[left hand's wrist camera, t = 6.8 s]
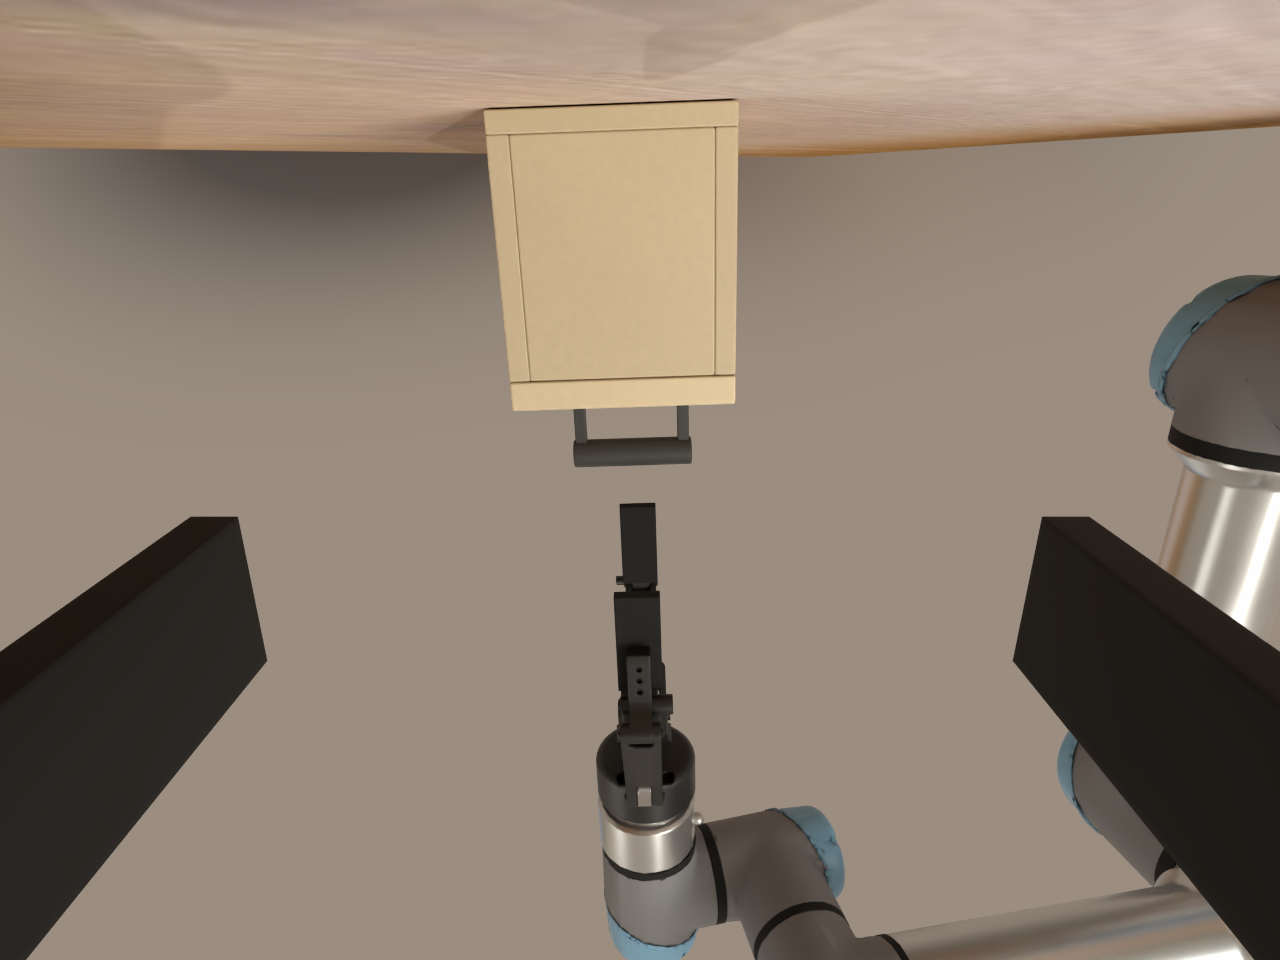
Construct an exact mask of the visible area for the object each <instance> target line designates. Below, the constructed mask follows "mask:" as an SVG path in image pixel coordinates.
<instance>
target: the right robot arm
mask: <svg viewBox="0 0 1280 960" xmlns="http://www.w3.org/2000/svg"><path fill="white" fill-rule="evenodd" d="M1149 379H1150V385H1151V387H1152V388H1153V389H1155V390H1156V392H1155V394H1156V397H1157V398H1158V399H1159V400H1160V401H1161V402H1162V403H1163V404H1164V405H1166V406H1167V407H1169V408H1170V409H1171V410H1173V411H1174V415H1173V419H1172V424H1171V428H1170V432H1169V436H1168V440H1167V443H1168V445H1169V447H1170V448H1171V449H1172V450H1173V451H1174V453H1175V454H1176V455H1177V456H1178V457H1179V459H1180V460H1181V461H1182V462H1183V469H1182V473H1181V477H1180V481H1179V485H1178V488H1177V492H1176V496H1175V500H1174V504H1173V507H1172V511H1171V515H1170V519H1169V523H1168V526H1167V530H1166V534H1165V538H1164V542H1163V546H1162V550H1161V553H1160V557H1159V561H1158V566H1159V567H1161V568H1162V569H1164V570H1165V571H1166V572H1168V573H1169V574H1171V575H1172V576H1174V577H1175V578H1176V579H1178V580H1179V581H1181V582H1182V583H1183V584H1185V585H1186V586H1188V587H1189V588H1190V589H1192V590H1193V591H1195V592H1196V593H1198V594H1199V595H1200V596H1202V597H1203V598H1205V599H1206V600H1207V601H1209V602H1210V603H1212V604H1213V605H1214V606H1216V607H1217V608H1219V609H1220V610H1222V611H1223V612H1224V613H1226V614H1227V615H1229V616H1230V617H1231V618H1233V619H1234V620H1236V621H1237V622H1238V623H1240V624H1241V625H1243V626H1244V627H1246V628H1247V629H1248V630H1250V631H1251V632H1253V633H1254V634H1255V635H1257V636H1258V637H1260V638H1261V639H1262V640H1264V641H1265V642H1267V639H1268V636H1269V633H1270V630H1271V627H1272V624H1273V621H1274V618H1275V615H1276V612H1277V609H1278V606H1279V603H1280V275H1278V276H1264V275H1246V276H1239V277H1234V278H1230V279H1227V280H1224V281H1221V282H1219V283H1216V284H1214V285H1212V286H1210V287H1208V288H1207V289H1205V290H1203V291H1202V292H1200V293H1199V294H1198V295H1197V296H1196V297H1195V298H1194V299H1193V301H1192V302H1191V303H1189V304H1186V305H1184V306H1183V307H1182V308H1181V309H1180V310H1179V311H1178V312H1177V313H1176V314H1175V315H1174V316H1173V317H1172V319H1171V320H1170V321H1169V323H1168V324H1167V325H1166V327H1165V328H1164V330H1163V332H1162V333H1161V335H1160V337H1159V339H1158V341H1157V343H1156V345H1155V347H1154V350H1153V353H1152V357H1151V361H1150V367H1149ZM620 526H621V547H622V568H623V576H616V583H617V585H624V586H625V588H626V592H614V612H615V631H616V650H617V669H618V688H619V691H621V697H620V699H619V701H618V720H619V724H618V725H617V729H616V730H615V731H613V732H612V733H611V734H609V735H608V736H607V737H606V738H605V739H604V740H603V742H602V743H601V745H600V747H599V749H598V752H597V757H596V765H597V780H598V792H599V799H598V806H599V820H600V835H601V843H602V848H603V869H604V896H605V901H606V908H607V915H608V922H609V930H610V934H611V937H612V939H613V942H614V944H615V946H616V947H617V949H618V950H619V951H620V953H621V954H622V955H623V956H624V957H625V958H627V959H628V960H679V959H680V958H682V957H683V956H684V955H685V954H686V953H688V952H689V950H690V949H691V947H692V945H693V943H694V940H695V937H696V931H697V930H698V928H703V927H708V926H713V925H717V924H722V923H726V922H729V921H739V920H740V921H741V923H742V925H743V928H744V931H745V933H746V936H747V939H748V942H749V944H750V947H751V950H752V952H753V955H754V958H755V960H1254V959H1253V958H1252V957H1251V955H1250V954H1249V953H1248V952H1247V950H1246V949H1245V948H1244V947H1243V945H1242V944H1241V943H1240V942H1239V940H1238V939H1237V938H1236V937H1235V935H1234V934H1233V933H1232V932H1231V931H1230V929H1229V928H1228V927H1227V926H1226V924H1225V923H1224V922H1223V921H1222V919H1221V918H1220V917H1219V916H1218V914H1217V913H1216V912H1215V911H1214V909H1213V908H1212V907H1211V906H1210V905H1209V903H1208V902H1207V901H1206V900H1205V898H1204V897H1203V896H1202V895H1201V893H1200V892H1199V891H1198V890H1197V888H1196V887H1195V886H1194V885H1193V883H1192V882H1191V881H1190V880H1189V878H1188V877H1187V876H1186V875H1185V874H1184V872H1183V871H1182V870H1181V869H1180V867H1179V866H1178V865H1177V864H1176V862H1175V861H1174V860H1173V859H1172V857H1171V856H1170V855H1169V854H1168V852H1167V851H1166V850H1165V849H1164V847H1163V846H1162V845H1161V844H1160V843H1159V841H1158V840H1157V839H1156V838H1155V836H1154V835H1153V834H1152V833H1151V831H1150V830H1149V829H1148V828H1147V826H1146V825H1145V824H1144V823H1143V821H1142V820H1141V819H1140V818H1139V817H1138V815H1137V814H1136V813H1135V812H1134V810H1133V809H1132V808H1131V807H1130V805H1129V804H1128V803H1127V802H1126V800H1125V799H1124V798H1123V797H1122V795H1121V794H1120V793H1119V792H1118V790H1117V789H1116V788H1115V787H1114V786H1113V784H1112V783H1111V782H1110V781H1109V779H1108V778H1107V777H1106V776H1105V774H1104V773H1103V772H1102V771H1101V769H1100V768H1099V767H1098V766H1097V764H1096V763H1095V762H1094V761H1093V760H1092V758H1091V757H1090V756H1089V755H1088V753H1087V752H1086V751H1085V750H1084V748H1083V747H1082V746H1081V745H1080V743H1079V742H1078V741H1077V740H1076V738H1075V737H1074V736H1073V735H1072V733H1071V732H1070V731H1069V732H1068V733H1067V735H1066V736H1065V738H1064V740H1063V742H1062V745H1061V748H1060V751H1059V755H1058V762H1057V771H1058V778H1059V782H1060V785H1061V787H1062V790H1063V792H1064V794H1065V795H1066V797H1067V798H1068V800H1069V801H1070V802H1071V803H1072V804H1073V805H1074V806H1075V807H1076V809H1077V810H1078V811H1079V813H1080V815H1081V816H1082V817H1083V819H1084V820H1085V821H1086V823H1087V824H1088V825H1089V826H1090V827H1091V828H1093V829H1094V830H1095V831H1096V832H1098V833H1099V834H1101V835H1103V836H1104V837H1105V838H1106V839H1107V840H1108V841H1109V842H1110V844H1111V845H1112V846H1113V847H1114V848H1115V849H1116V850H1117V851H1118V852H1119V853H1120V854H1121V855H1122V856H1123V857H1124V858H1125V859H1126V860H1127V861H1128V862H1129V863H1130V864H1131V865H1132V866H1133V867H1134V868H1135V869H1136V870H1137V871H1138V872H1139V873H1140V874H1141V875H1142V876H1143V877H1144V878H1145V879H1146V880H1147V881H1148V882H1149V884H1150V885H1151V886H1152V887H1151V888H1145V889H1139V890H1134V891H1128V892H1122V893H1117V894H1111V895H1105V896H1100V897H1094V898H1089V899H1083V900H1077V901H1072V902H1066V903H1060V904H1054V905H1049V906H1043V907H1037V908H1032V909H1026V910H1020V911H1015V912H1009V913H1003V914H998V915H992V916H986V917H981V918H975V919H969V920H964V921H958V922H952V923H947V924H941V925H935V926H930V927H924V928H918V929H913V930H907V931H901V932H896V933H890V934H881V935H876V936H870V937H864V938H856V937H855V935H854V934H853V932H852V930H851V929H850V927H849V924H848V922H847V920H846V918H845V916H844V914H843V912H842V910H841V908H840V906H839V904H838V903H837V901H836V899H835V898H837V897H838V896H839V895H840V894H841V892H842V890H843V886H844V877H845V875H844V873H845V872H844V863H843V857H842V853H841V849H840V846H839V845H838V844H837V841H836V837H835V832H834V830H833V828H832V826H831V824H830V822H829V821H828V819H827V818H826V817H825V815H824V814H823V813H822V812H821V811H819V810H818V809H816V808H814V807H812V806H800V807H791V808H783V809H777V808H771V809H768V810H765V811H762V812H757V813H753V814H747V815H743V816H738V817H733V818H729V819H723V820H718V821H713V822H709V823H703V815H702V814H701V813H700V812H695V797H694V793H695V753H694V749H693V747H692V745H691V743H690V741H689V740H688V739H687V737H686V736H685V735H684V734H682V733H681V732H680V731H678V730H677V729H675V728H673V727H671V724H670V723H668V720H670V714H673V697H672V694H666V681H665V665H664V663H663V662H662V658H661V622H660V592H659V591H656V586H657V585H658V581H657V546H656V513H655V503H631V504H620ZM658 691H659V694H658ZM702 823H703V824H702Z"/></svg>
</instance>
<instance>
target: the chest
mask: <svg viewBox="0 0 1280 960" xmlns="http://www.w3.org/2000/svg"><path fill="white" fill-rule="evenodd" d="M738 111H739V102H738V101H737V100H727V101H701V102H675V103H648V104H622V105H595V106H569V107H543V108H516V109H490V110H484V111H483V115H484V125H485V133H486V147H487V157H488V167H489V177H490V187H491V198H492V208H493V218H494V228H495V238H496V248H497V259H498V269H499V279H500V289H501V299H502V310H503V320H504V330H505V340H506V351H507V361H508V371H509V380H510V382H522V381H530V380H531V381H545V380H575V379H605V378H635V377H665V376H695V375H713V374H714V373H715V374H716V375H727V374H735V369H736V283H737V282H736V281H737V197H738V126H737V125H738Z"/></svg>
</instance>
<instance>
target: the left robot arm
mask: <svg viewBox="0 0 1280 960" xmlns="http://www.w3.org/2000/svg"><path fill="white" fill-rule="evenodd" d="M266 662H267V658H266V653H265V648H264V643H263V638H262V633H261V628H260V623H259V618H258V613H257V609H256V604H255V599H254V594H253V589H252V584H251V579H250V574H249V569H248V564H247V559H246V555H245V550H244V545H243V540H242V535H241V530H240V525H239V520H238V517H190V518H188V519H187V520H186V521H184V522H183V523H181V524H180V525H179V526H177V527H176V528H174V529H173V530H172V531H170V532H169V533H167V534H166V535H164V536H163V537H162V538H160V539H159V540H157V541H156V542H155V543H153V544H152V545H150V546H149V547H147V548H146V549H145V550H143V551H142V552H140V553H139V554H138V555H136V556H135V557H133V558H132V559H130V560H129V561H128V562H126V563H125V564H123V565H122V566H121V567H119V568H118V569H116V570H115V571H114V572H112V573H111V574H109V575H108V576H106V577H105V578H104V579H102V580H101V581H100V582H98V583H97V584H95V585H94V586H92V587H91V588H90V589H88V590H87V591H85V592H84V593H82V594H81V595H80V596H78V597H77V598H76V599H74V600H73V601H71V602H70V603H68V604H67V605H66V606H64V607H63V608H61V609H60V610H59V611H57V612H56V613H54V614H53V615H51V616H50V617H49V618H47V619H46V620H44V621H43V622H42V623H40V624H39V625H37V626H36V627H34V628H33V629H32V630H30V631H29V632H27V633H26V634H25V635H23V636H22V637H20V638H19V639H18V640H16V641H15V642H13V643H12V644H10V645H9V646H8V647H6V648H5V649H3V650H2V651H1V652H0V960H26V959H27V958H28V956H29V955H30V954H31V953H32V952H33V950H34V949H35V948H36V947H37V945H38V944H39V943H40V942H41V940H42V939H43V938H44V937H45V935H46V934H47V933H48V932H49V930H50V929H51V928H52V927H53V926H54V924H55V923H56V922H57V921H58V919H59V918H60V917H61V916H62V914H63V913H64V912H65V911H66V909H67V908H68V907H69V906H70V905H71V903H72V902H73V901H74V900H75V898H76V897H77V896H78V894H79V893H80V892H81V891H82V890H83V888H84V887H85V886H86V885H87V883H88V882H89V881H90V880H91V878H92V877H93V876H94V875H95V874H96V872H97V871H98V870H99V869H100V867H101V866H102V865H103V864H104V862H105V861H106V860H107V859H108V857H109V856H110V855H111V854H112V852H113V851H114V850H115V849H116V847H117V846H118V845H119V844H120V842H121V841H122V840H123V839H124V838H125V836H126V835H127V834H128V833H129V831H130V830H131V829H132V828H133V826H134V825H135V824H136V823H137V821H138V820H139V819H140V818H141V817H142V815H143V814H144V813H145V812H146V810H147V809H148V808H149V807H150V805H151V804H152V803H153V802H154V800H155V799H156V798H157V797H158V795H159V794H160V793H161V792H162V790H163V789H164V788H165V787H166V785H167V784H168V783H169V782H170V781H171V779H172V778H173V777H174V776H175V774H176V773H177V772H178V771H179V769H180V768H181V767H182V766H183V764H184V763H185V762H186V761H187V759H188V758H189V757H190V756H191V755H192V753H193V752H194V751H195V750H196V748H197V747H198V746H199V745H200V743H201V742H202V741H203V740H204V738H205V737H206V736H207V735H208V733H209V732H210V731H211V730H212V728H213V727H214V726H215V725H216V724H217V722H218V721H219V720H220V719H221V717H222V716H223V715H224V714H225V712H226V711H227V710H228V709H229V707H230V706H231V705H232V704H233V702H234V701H235V700H236V699H237V698H238V696H239V695H240V694H241V693H242V691H243V690H244V689H245V688H246V686H247V685H248V684H249V683H250V681H251V680H252V679H253V678H254V676H255V675H256V674H257V673H258V671H259V670H260V669H261V668H262V667H263V665H264V664H265V663H266ZM1013 662H1014V663H1015V664H1016V665H1017V667H1018V668H1019V669H1020V670H1021V671H1022V673H1023V674H1024V675H1025V676H1026V678H1027V679H1028V680H1029V681H1030V683H1031V684H1032V685H1033V686H1034V688H1035V689H1036V690H1037V691H1038V693H1039V694H1040V695H1041V696H1042V698H1043V699H1044V700H1045V701H1046V702H1047V704H1048V705H1049V706H1050V707H1051V709H1052V710H1053V711H1054V712H1055V714H1056V715H1057V716H1058V717H1059V719H1060V720H1061V721H1062V722H1063V724H1064V725H1065V726H1066V727H1067V729H1068V730H1069V731H1070V732H1071V733H1072V735H1073V736H1074V737H1075V738H1076V740H1077V741H1078V742H1079V743H1080V745H1081V746H1082V747H1083V748H1084V750H1085V751H1086V752H1087V753H1088V755H1089V756H1090V757H1091V758H1092V760H1093V761H1094V762H1095V763H1096V764H1097V766H1098V767H1099V768H1100V769H1101V771H1102V772H1103V773H1104V774H1105V776H1106V777H1107V778H1108V779H1109V781H1110V782H1111V783H1112V784H1113V786H1114V787H1115V788H1116V789H1117V790H1118V792H1119V793H1120V794H1121V795H1122V797H1123V798H1124V799H1125V800H1126V802H1127V803H1128V804H1129V805H1130V807H1131V808H1132V809H1133V810H1134V812H1135V813H1136V814H1137V815H1138V817H1139V818H1140V819H1141V820H1142V821H1143V823H1144V824H1145V825H1146V826H1147V828H1148V829H1149V830H1150V831H1151V833H1152V834H1153V835H1154V836H1155V838H1156V839H1157V840H1158V841H1159V843H1160V844H1161V845H1162V846H1163V847H1164V849H1165V850H1166V851H1167V852H1168V854H1169V855H1170V856H1171V857H1172V859H1173V860H1174V861H1175V862H1176V864H1177V865H1178V866H1179V867H1180V869H1181V870H1182V871H1183V872H1184V874H1185V875H1186V876H1187V877H1188V878H1189V880H1190V881H1191V882H1192V883H1193V885H1194V886H1195V887H1196V888H1197V890H1198V891H1199V892H1200V893H1201V895H1202V896H1203V897H1204V898H1205V900H1206V901H1207V902H1208V903H1209V905H1210V906H1211V907H1212V908H1213V909H1214V911H1215V912H1216V913H1217V914H1218V916H1219V917H1220V918H1221V919H1222V921H1223V922H1224V923H1225V924H1226V926H1227V927H1228V928H1229V929H1230V931H1231V932H1232V933H1233V934H1234V935H1235V937H1236V938H1237V939H1238V940H1239V942H1240V943H1241V944H1242V945H1243V947H1244V948H1245V949H1246V950H1247V952H1248V953H1249V954H1250V955H1251V957H1252V958H1253V959H1254V960H1280V652H1279V651H1278V650H1276V649H1275V648H1274V647H1272V646H1271V645H1269V644H1268V643H1267V642H1265V641H1264V640H1262V639H1261V638H1260V637H1258V636H1257V635H1255V634H1254V633H1253V632H1251V631H1250V630H1248V629H1247V628H1246V627H1244V626H1243V625H1241V624H1240V623H1238V622H1237V621H1236V620H1234V619H1233V618H1231V617H1230V616H1229V615H1227V614H1226V613H1224V612H1223V611H1222V610H1220V609H1219V608H1217V607H1216V606H1214V605H1213V604H1212V603H1210V602H1209V601H1207V600H1206V599H1205V598H1203V597H1202V596H1200V595H1199V594H1198V593H1196V592H1195V591H1193V590H1192V589H1190V588H1189V587H1188V586H1186V585H1185V584H1183V583H1182V582H1181V581H1179V580H1178V579H1176V578H1175V577H1174V576H1172V575H1171V574H1169V573H1168V572H1166V571H1165V570H1164V569H1162V568H1161V567H1159V566H1158V565H1157V564H1155V563H1154V562H1152V561H1151V560H1150V559H1148V558H1147V557H1145V556H1144V555H1142V554H1141V553H1140V552H1138V551H1137V550H1135V549H1134V548H1133V547H1131V546H1130V545H1128V544H1127V543H1125V542H1124V541H1123V540H1121V539H1120V538H1118V537H1117V536H1116V535H1114V534H1113V533H1111V532H1110V531H1108V530H1107V529H1106V528H1104V527H1103V526H1101V525H1100V524H1099V523H1097V522H1096V521H1094V520H1093V519H1092V518H1090V517H1042V520H1041V525H1040V530H1039V535H1038V540H1037V545H1036V550H1035V555H1034V560H1033V564H1032V569H1031V574H1030V579H1029V584H1028V589H1027V594H1026V599H1025V604H1024V609H1023V613H1022V618H1021V623H1020V628H1019V633H1018V638H1017V643H1016V648H1015V653H1014V658H1013Z"/></svg>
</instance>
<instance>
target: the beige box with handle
mask: <svg viewBox="0 0 1280 960" xmlns="http://www.w3.org/2000/svg"><path fill="white" fill-rule="evenodd" d="M510 390H511V400H512V409H513V411H527V410H558V409H574V423H575V438H576V440H575V441H574V445H573V454H574V464H575V467H599V466H631V465H662V464H690V463H691V462H692V445H691V437H690V436H689V411H688V405H710V404H734V403H735V375H734V374H727V375H716V374H715V373H714V374H713V375H695V376H665V377H635V378H605V379H575V380H545V381H531V380H530V381H522V382H511V383H510ZM649 406H677V437H651V438H621V439H590V440H587V426H586V410H585V409H588V408H619V407H649Z"/></svg>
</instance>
